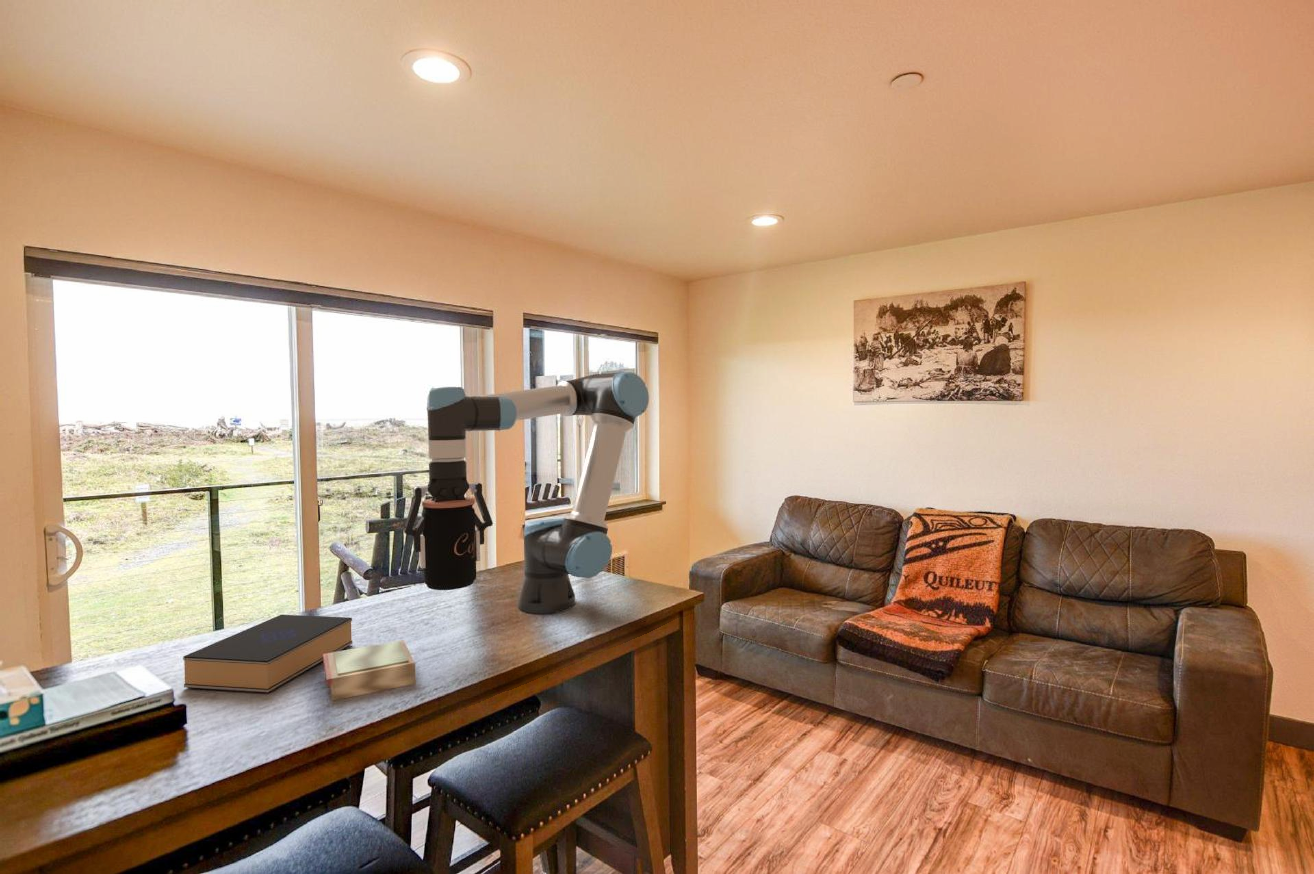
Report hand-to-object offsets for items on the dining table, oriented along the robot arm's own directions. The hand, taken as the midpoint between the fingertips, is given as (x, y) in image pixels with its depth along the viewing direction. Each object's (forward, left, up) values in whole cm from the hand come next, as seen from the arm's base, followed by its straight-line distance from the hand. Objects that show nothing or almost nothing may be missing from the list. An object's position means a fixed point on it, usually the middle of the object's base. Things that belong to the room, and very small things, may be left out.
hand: (450, 563), depth 133 cm
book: (+32, -12, -20) cm, 40 cm away
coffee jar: (0, 0, -5) cm, 5 cm away
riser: (+16, +5, -19) cm, 26 cm away
